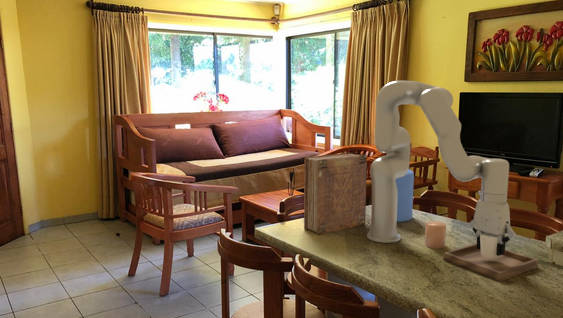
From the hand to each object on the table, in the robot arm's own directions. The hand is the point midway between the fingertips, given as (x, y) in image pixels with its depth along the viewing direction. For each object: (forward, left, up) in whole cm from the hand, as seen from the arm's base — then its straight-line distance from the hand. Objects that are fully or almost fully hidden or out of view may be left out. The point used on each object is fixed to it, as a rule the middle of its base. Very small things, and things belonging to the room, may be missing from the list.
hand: (490, 251), depth 142 cm
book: (-58, -18, -5) cm, 61 cm away
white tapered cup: (0, 0, -1) cm, 1 cm away
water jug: (-55, +13, -5) cm, 57 cm away
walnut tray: (0, 0, -4) cm, 4 cm away
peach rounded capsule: (-21, -1, -4) cm, 21 cm away
